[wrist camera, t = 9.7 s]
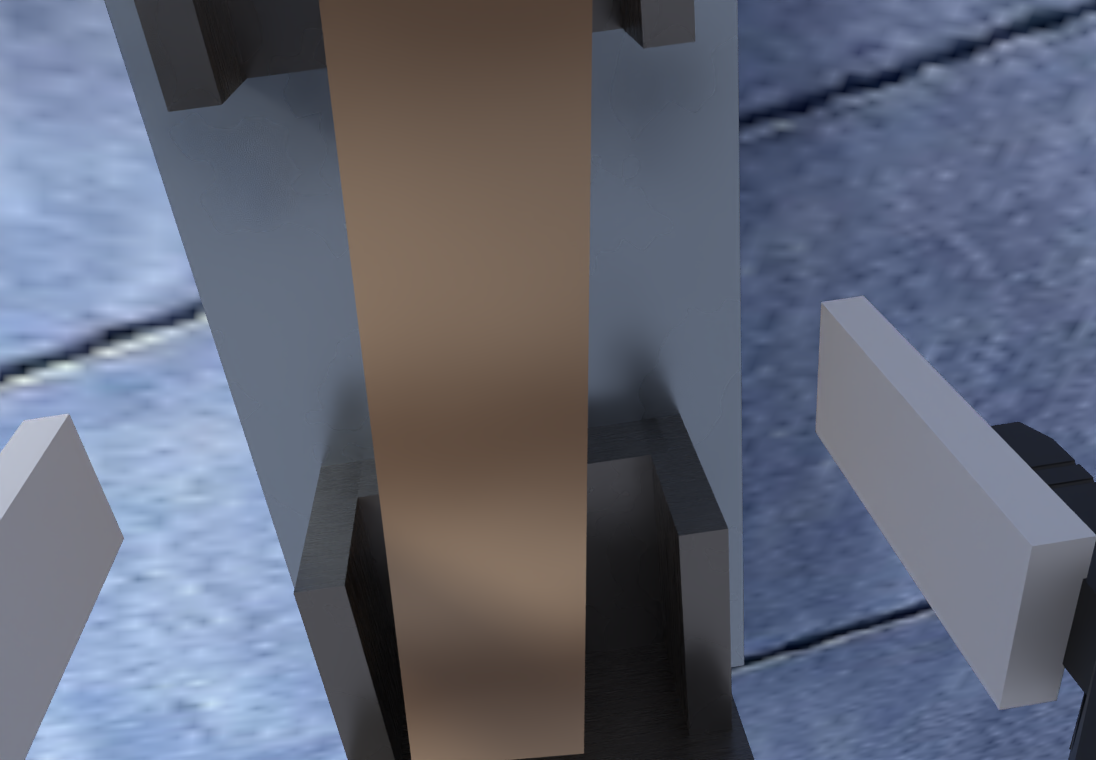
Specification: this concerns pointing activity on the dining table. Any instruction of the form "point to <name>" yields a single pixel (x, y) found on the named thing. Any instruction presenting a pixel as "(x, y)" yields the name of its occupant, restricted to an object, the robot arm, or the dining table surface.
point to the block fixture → (613, 361)
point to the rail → (474, 350)
